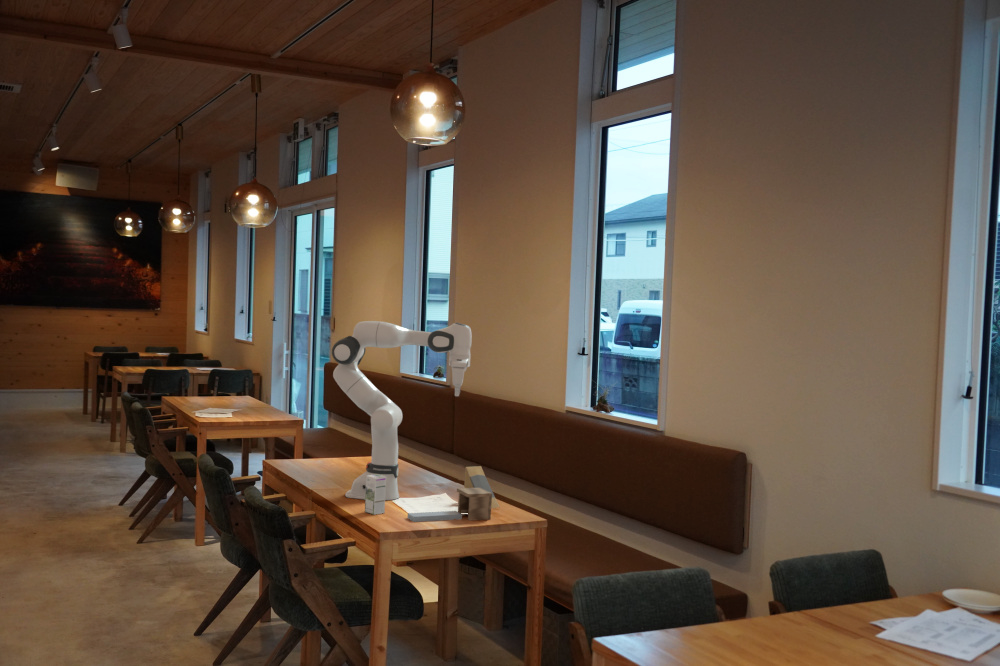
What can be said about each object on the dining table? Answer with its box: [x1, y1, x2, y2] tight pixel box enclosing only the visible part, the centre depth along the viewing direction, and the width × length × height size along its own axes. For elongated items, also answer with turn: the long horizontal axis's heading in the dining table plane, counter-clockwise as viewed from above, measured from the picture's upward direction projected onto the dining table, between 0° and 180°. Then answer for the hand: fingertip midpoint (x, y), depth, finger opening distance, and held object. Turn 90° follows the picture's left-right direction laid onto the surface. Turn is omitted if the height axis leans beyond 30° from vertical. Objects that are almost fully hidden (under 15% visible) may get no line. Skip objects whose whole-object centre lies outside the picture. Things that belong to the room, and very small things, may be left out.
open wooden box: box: [456, 487, 492, 521], centre depth 340 cm, size 10×11×10 cm
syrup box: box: [364, 474, 386, 516], centre depth 337 cm, size 6×6×14 cm
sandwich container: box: [463, 465, 500, 509], centre depth 364 cm, size 9×15×15 cm, turn 38°
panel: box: [407, 510, 463, 523], centre depth 333 cm, size 20×6×2 cm, turn 117°
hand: (457, 395), depth 361 cm, fingers open, 8 cm apart
